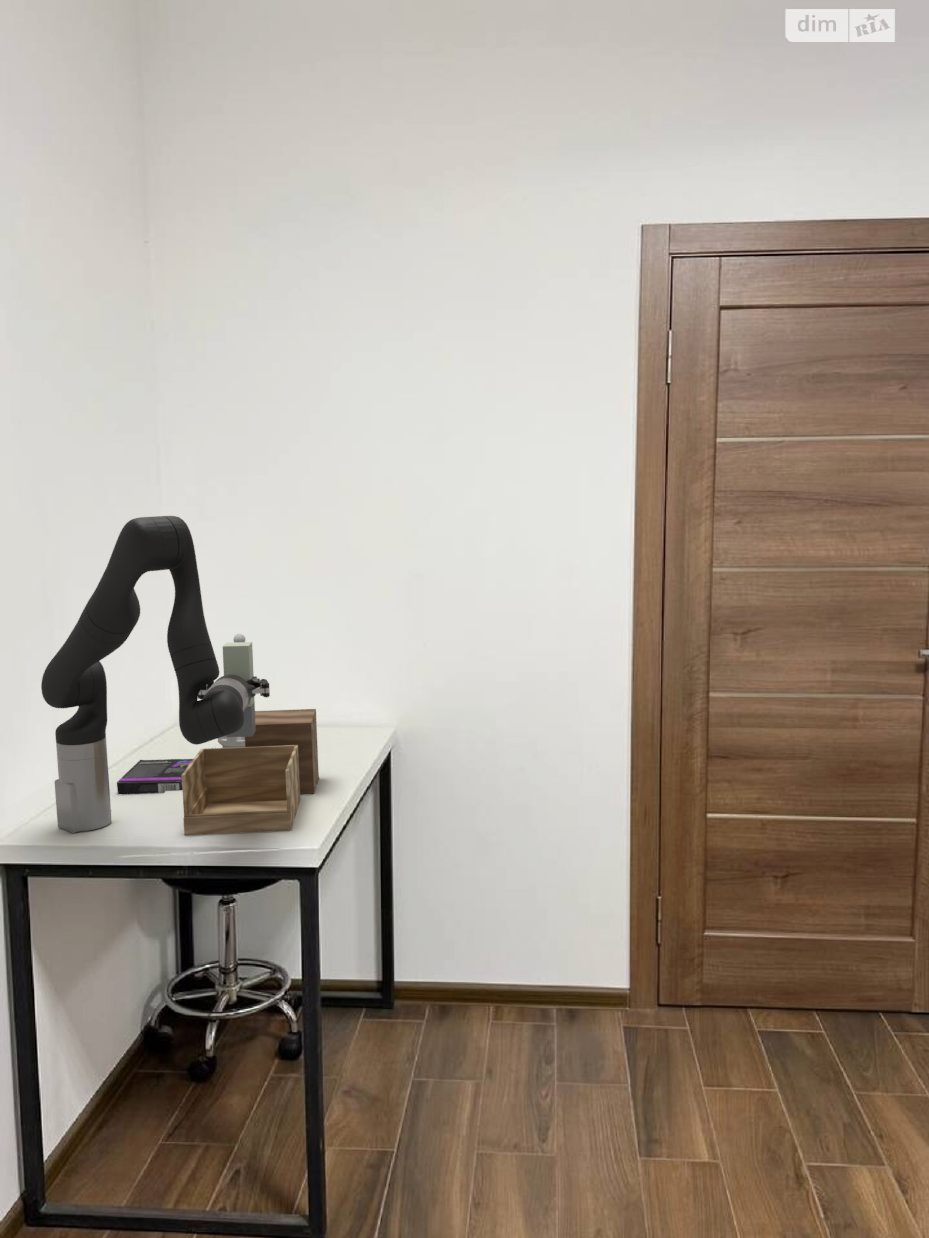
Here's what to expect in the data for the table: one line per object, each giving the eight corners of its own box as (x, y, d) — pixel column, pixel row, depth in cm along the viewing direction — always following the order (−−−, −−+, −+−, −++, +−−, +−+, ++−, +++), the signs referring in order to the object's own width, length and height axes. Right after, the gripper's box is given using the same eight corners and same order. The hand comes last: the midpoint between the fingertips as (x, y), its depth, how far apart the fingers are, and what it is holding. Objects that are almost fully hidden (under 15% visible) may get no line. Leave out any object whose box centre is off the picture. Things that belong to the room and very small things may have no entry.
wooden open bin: (291, 832, 195) (288, 771, 193) (184, 837, 194) (180, 775, 192) (300, 800, 215) (298, 744, 214) (204, 804, 214) (201, 748, 212)
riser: (314, 795, 218) (311, 722, 216) (247, 798, 217) (244, 725, 215) (318, 777, 232) (315, 708, 230) (256, 780, 231) (253, 711, 229)
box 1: (181, 796, 223) (200, 770, 243) (180, 781, 223) (199, 756, 242) (116, 797, 223) (141, 771, 242) (115, 782, 222) (140, 757, 242)
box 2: (252, 736, 200) (248, 645, 198) (226, 737, 200) (222, 646, 198) (255, 730, 205) (252, 642, 203) (230, 731, 205) (226, 642, 203)
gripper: (266, 677, 187) (276, 662, 204) (186, 679, 186) (203, 664, 203) (267, 717, 188) (278, 699, 205) (188, 719, 187) (205, 701, 204)
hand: (241, 681), depth 204 cm, fingers closed on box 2, 5 cm apart
